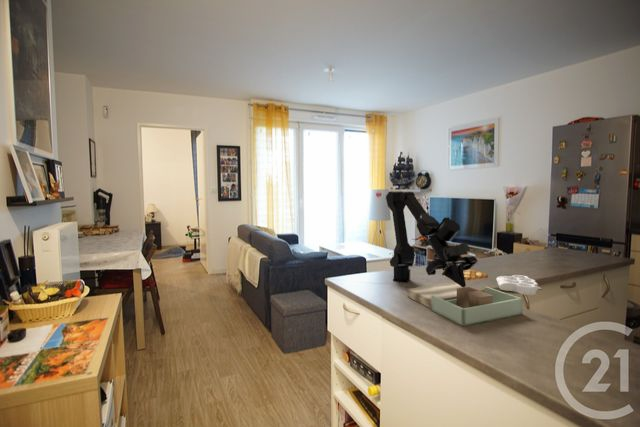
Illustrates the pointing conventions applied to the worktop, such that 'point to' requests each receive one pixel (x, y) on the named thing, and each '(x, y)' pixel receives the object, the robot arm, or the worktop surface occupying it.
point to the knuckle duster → (518, 284)
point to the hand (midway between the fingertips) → (464, 286)
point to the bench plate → (434, 292)
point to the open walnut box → (472, 297)
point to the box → (479, 308)
